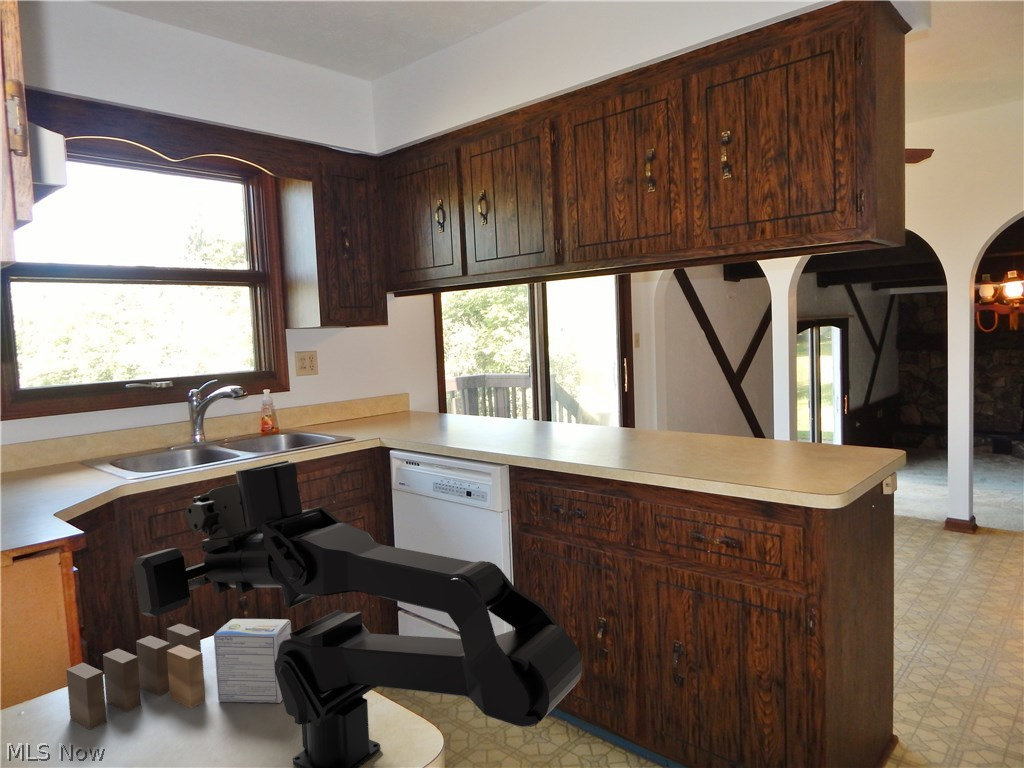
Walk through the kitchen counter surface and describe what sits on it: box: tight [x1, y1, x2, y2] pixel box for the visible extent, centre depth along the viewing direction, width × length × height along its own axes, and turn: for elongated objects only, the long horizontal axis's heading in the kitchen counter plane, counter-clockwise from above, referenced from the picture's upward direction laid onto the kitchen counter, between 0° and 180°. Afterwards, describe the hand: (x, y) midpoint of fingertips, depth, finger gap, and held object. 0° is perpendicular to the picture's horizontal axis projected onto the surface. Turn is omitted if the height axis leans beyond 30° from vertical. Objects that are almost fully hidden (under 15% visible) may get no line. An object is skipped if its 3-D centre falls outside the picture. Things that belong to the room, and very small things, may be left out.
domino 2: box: [102, 648, 142, 713], centre depth 80 cm, size 2×4×6 cm, turn 58°
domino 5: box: [167, 645, 206, 709], centre depth 81 cm, size 2×4×6 cm, turn 58°
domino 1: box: [66, 662, 107, 731], centre depth 77 cm, size 2×4×6 cm, turn 58°
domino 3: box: [135, 635, 170, 697], centre depth 84 cm, size 2×4×6 cm, turn 58°
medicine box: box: [213, 618, 292, 704], centre depth 82 cm, size 8×4×9 cm, turn 84°
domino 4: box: [166, 623, 202, 653], centre depth 87 cm, size 2×4×6 cm, turn 58°
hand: (181, 562), depth 81 cm, fingers open, 9 cm apart
